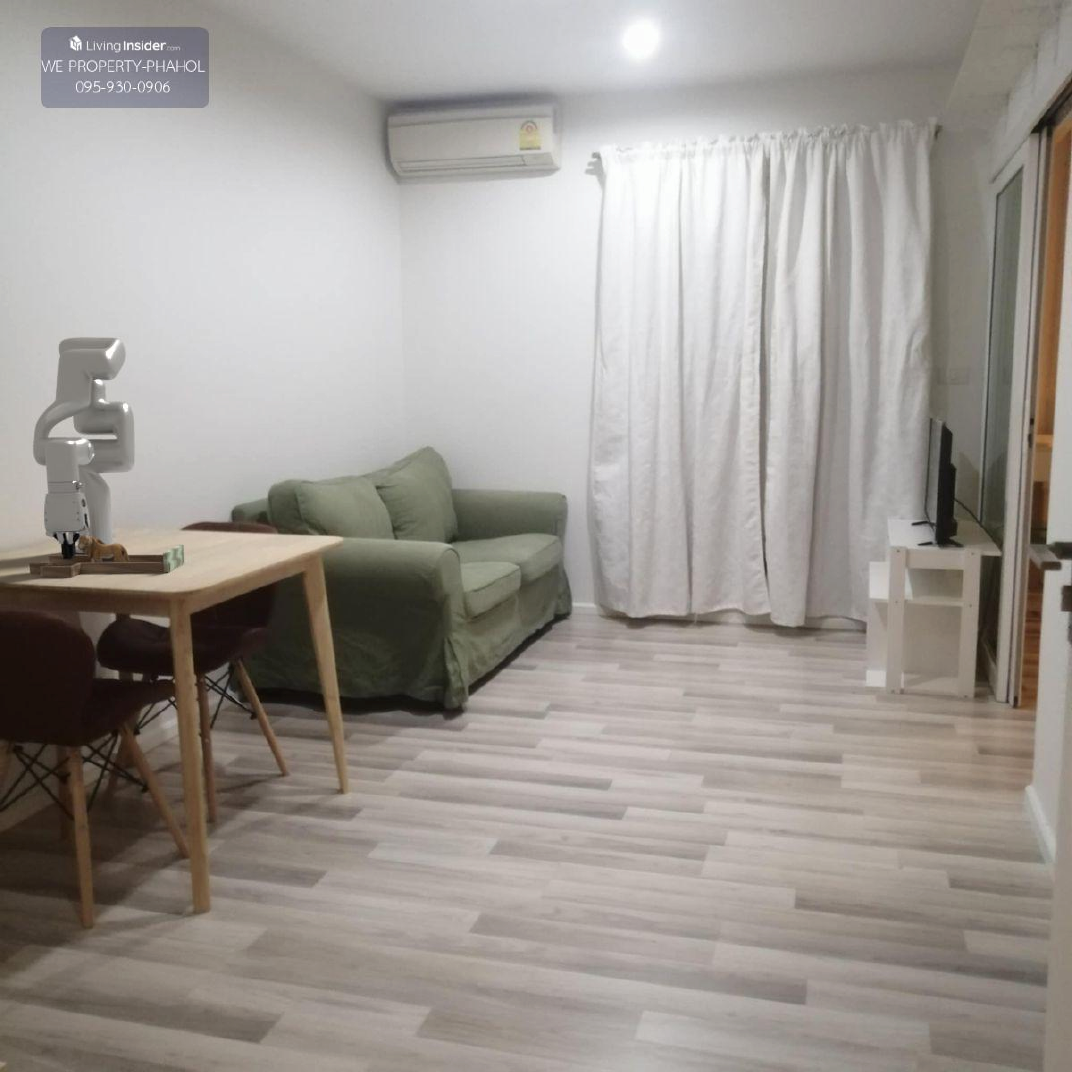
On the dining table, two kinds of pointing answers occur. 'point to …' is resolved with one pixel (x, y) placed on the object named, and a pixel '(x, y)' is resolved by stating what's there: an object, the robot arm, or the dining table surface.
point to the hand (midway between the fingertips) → (69, 558)
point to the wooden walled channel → (109, 564)
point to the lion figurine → (101, 549)
